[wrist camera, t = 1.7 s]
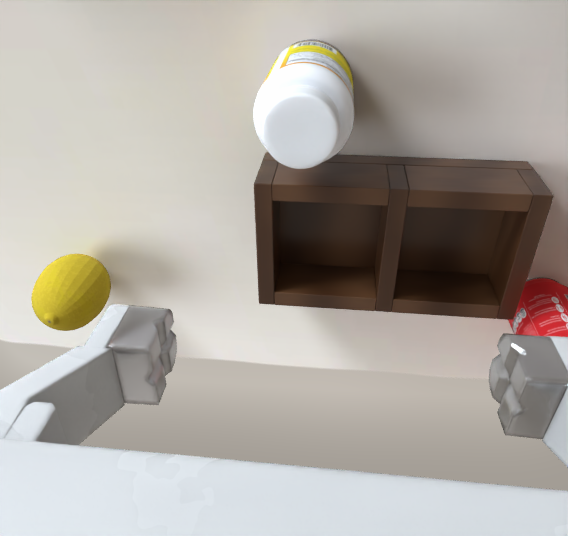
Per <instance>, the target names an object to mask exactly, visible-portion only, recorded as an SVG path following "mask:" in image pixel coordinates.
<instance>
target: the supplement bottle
mask: <svg viewBox="0 0 568 536" xmlns="http://www.w3.org/2000/svg"><path fill="white" fill-rule="evenodd" d="M253 115H254V125H255V129H256V132H257V135H258V137H259V139H260V141H261V142H262V144H263V145H264V146H265V148H266V149H267V150H268V152H269V153H270V154H271V156H272V157H273V158H274V159H275V160H277V161H278V162H280V163H281V164H283V165H285V166H288V167H291V168H295V169H306V168H311V167H314V166H317V165H319V164H320V163H322V162H324V161H326V160H328V159H330V158H332V157H333V156H334V155H336V154H337V153H338V152H339V151H340V150H341V149H342V148H343V146H344V145H345V144H346V142H347V140H348V138H349V136H350V134H351V131H352V128H353V123H354V97H353V77H352V72H351V69H350V66H349V64H348V62H347V60H346V58H345V57H344V56H343V54H342V53H341V52H340V51H339V50H338V49H337V48H335V47H334V46H332V45H331V44H329V43H326V42H324V41H320V40H312V39H310V40H303V41H299V42H296V43H294V44H292V45H290V46H289V47H287V48H286V49H285V50H284V51H283V52H282V53H281V54H280V55H279V56H278V58H277V59H276V60H275V62H274V64H273V66H272V68H271V70H270V72H269V73H268V75H267V77H266V79H265V81H264V83H263V85H262V86H261V88H260V90H259V92H258V95H257V97H256V101H255V105H254V112H253Z"/></svg>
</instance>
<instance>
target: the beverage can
mask: <svg viewBox="0 0 568 536" xmlns="http://www.w3.org/2000/svg"><path fill="white" fill-rule="evenodd" d="M508 320H509V319H508ZM509 323H510V325H511V328H512V330H513V333H514V334H519V335H534V336H559V337H568V288H567V287H566V286H564V285H562V284H559V283H558V282H557V281H555V280H552V279H549V278H535V279H530V280H527V281H526V283H525V286H524V289H523V292H522V295H521V298H520V301H519V304H518V307H517V310H516V313H515V316H514V319H513V320H509Z"/></svg>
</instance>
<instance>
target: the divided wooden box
mask: <svg viewBox="0 0 568 536" xmlns="http://www.w3.org/2000/svg"><path fill="white" fill-rule="evenodd" d="M254 200H255V223H256V246H257V269H258V292H259V303H260V304H275V305H287V306H303V307H319V308H335V309H351V310H366V311H384V312H391V311H392V312H398V313H414V314H430V315H445V316H461V317H477V318H493V319H496V318H497V319H509V320H513V319H514V316H515V313H516V310H517V307H518V304H519V301H520V298H521V295H522V292H523V289H524V286H525V283H526V280H527V276H528V273H529V270H530V267H531V264H532V261H533V258H534V255H535V252H536V249H537V246H538V243H539V240H540V236H541V233H542V230H543V227H544V224H545V221H546V218H547V215H548V212H549V209H550V206H551V203H552V200H553V194H552V193H551V192H550V190H549V189H548V188H547V186H546V185H545V184H544V182H543V181H542V180H541V178H540V177H539V176H538V174H537V173H536V172H535V170H534V169H533V168H532V167H531V165H530V164H529V163H528V162H525V161H496V160H467V159H438V158H410V157H381V156H352V155H334V156H333V157H332V158H330V159H328V160H326V161H324V162H322V163H320V164H319V165H317V166H314V167H311V168H306V169H295V168H291V167H288V166H285V165H283V164H281V163H280V162H278V161H277V160H275V159H274V158H273V157H272V156H271V154H270V153H265V156H264V158H263V161H262V164H261V166H260V169H259V172H258V174H257V177H256V180H255V182H254Z"/></svg>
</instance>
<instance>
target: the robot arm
mask: <svg viewBox="0 0 568 536" xmlns="http://www.w3.org/2000/svg"><path fill="white" fill-rule="evenodd" d="M173 322H174V320H173V314H172V311H171V310H170V309H164V308H154V307H143V306H133V305H132V306H130V305H119V304H112V305H110V306H109V307H108V308H107V310H106V311H105V313H104V315H103V316H102V318H101V319H100V321H99V323H98V324H97V326H96V327H95V329H94V331H93V332H92V334H91V335H90V337H89V339H88V340H87V342H86V343H85V345H84V346H77V347H75V348H73V349H72V350H70V351H68V352H66V353H65V354H63V355H61V356H59V357H58V358H56V359H54V360H52V361H51V362H49V363H47V364H45V365H44V366H42V367H40V368H38V369H37V370H35V371H33V372H31V373H29V374H28V375H26V376H24V377H23V378H21V379H19V380H17V381H15V382H14V383H12V384H10V385H8V386H7V387H5V388H3V389H1V390H0V536H568V491H563V490H552V489H542V488H531V487H519V486H509V485H508V486H507V485H498V484H487V483H477V482H466V481H456V480H444V479H434V478H424V477H413V476H402V475H392V474H382V473H371V472H360V471H349V470H338V469H326V468H316V467H305V466H294V465H284V464H273V463H262V462H252V461H241V460H229V459H219V458H208V457H197V456H186V455H176V454H165V453H155V452H144V451H133V450H122V449H111V448H101V447H90V446H79V444H80V443H81V442H83V441H84V440H85V439H86V438H87V437H88V436H89V435H90V434H92V433H93V432H94V431H95V430H96V429H97V428H99V427H100V426H101V425H102V424H103V423H104V422H105V421H107V420H108V419H109V418H110V417H111V416H112V415H114V414H115V413H116V412H117V411H118V410H119V409H120V408H122V407H123V406H124V403H133V404H149V405H158V404H159V402H160V399H161V397H162V394H163V392H164V389H165V387H166V380H165V376H166V375H167V374H168V373H169V372H171V371H172V368H173V366H174V363H175V357H176V352H177V342H176V335H175V334H174V333H173V332H172V331H171V327H172V325H173ZM497 346H498V349H499V352H500V354H499V355H498V356H497V357H495V358H494V359H493V360H492V363H491V367H490V371H489V384H490V390H491V393H492V396H493V398H494V399H495V400H496V401H497V402H498V403H500V407H499V409H498V415H499V418H500V421H501V424H502V427H503V430H504V433H505V435H510V436H519V437H528V438H537V439H543V440H542V441H543V442H544V443H545V444H546V445H547V447H549V449H551V451H552V452H553V453H554V454H555V455H556V456H557V457H558V458H559V459H560V460H561V461H562V462H563V463H564V464H565V465H566V466H567V467H568V337H559V336H534V335H519V334H503V335H502V336H501V337H500V340H499V342H498V345H497Z"/></svg>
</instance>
